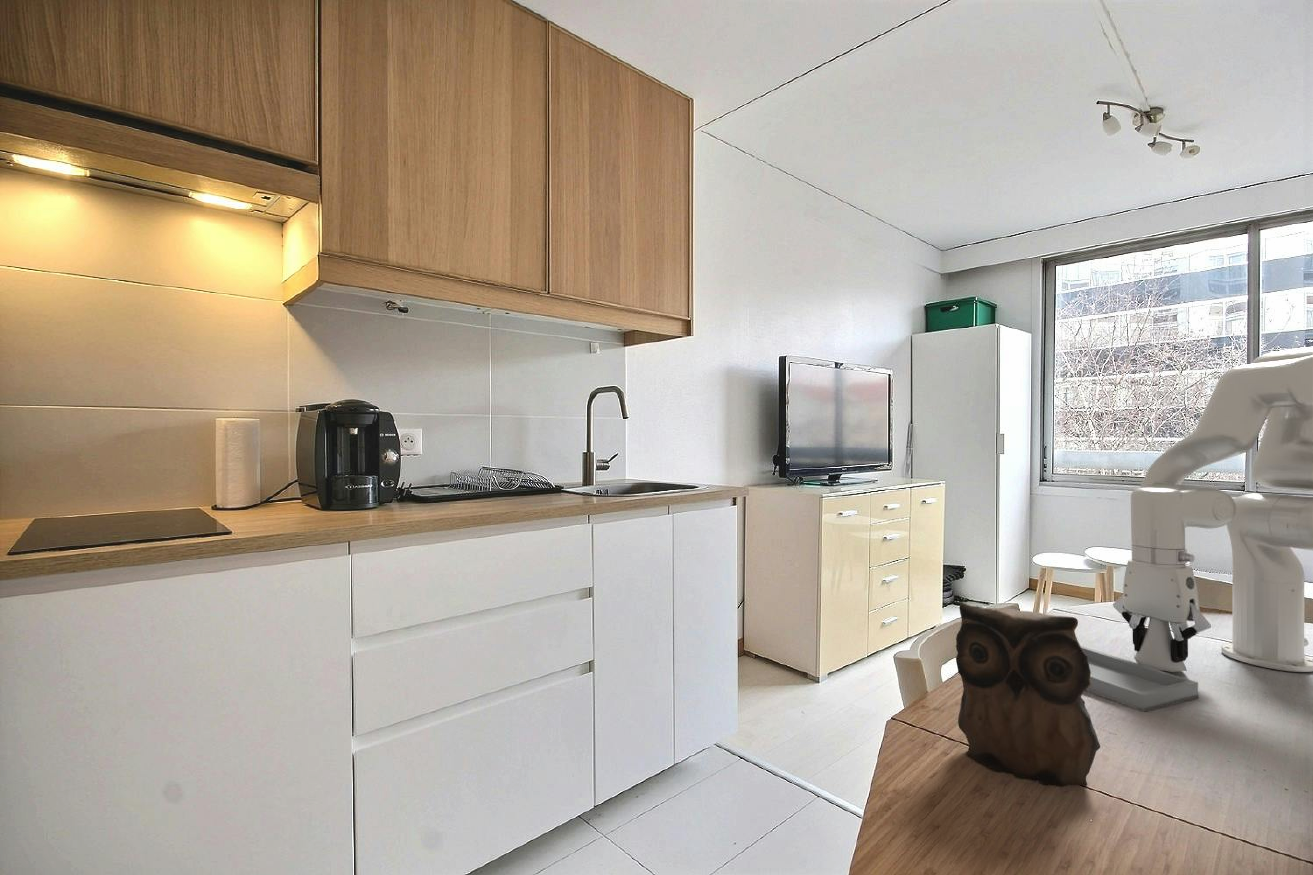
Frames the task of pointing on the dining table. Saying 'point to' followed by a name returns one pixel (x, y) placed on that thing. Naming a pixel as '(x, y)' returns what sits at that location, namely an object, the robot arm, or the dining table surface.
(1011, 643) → the owl
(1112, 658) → the tray
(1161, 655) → the flask
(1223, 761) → the dining table surface
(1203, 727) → the dining table surface
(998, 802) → the dining table surface
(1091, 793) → the dining table surface
